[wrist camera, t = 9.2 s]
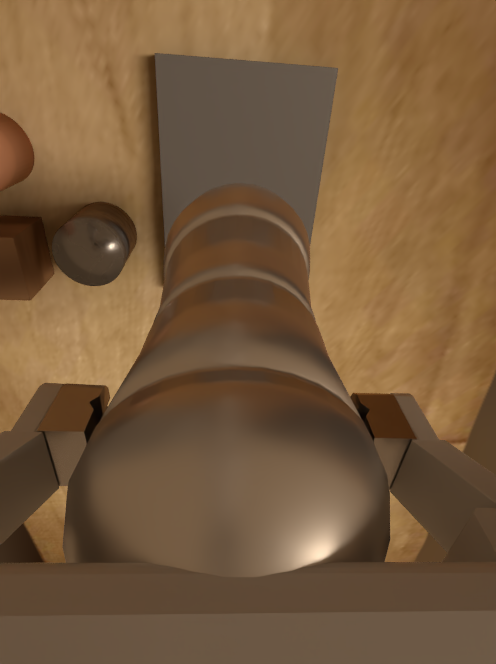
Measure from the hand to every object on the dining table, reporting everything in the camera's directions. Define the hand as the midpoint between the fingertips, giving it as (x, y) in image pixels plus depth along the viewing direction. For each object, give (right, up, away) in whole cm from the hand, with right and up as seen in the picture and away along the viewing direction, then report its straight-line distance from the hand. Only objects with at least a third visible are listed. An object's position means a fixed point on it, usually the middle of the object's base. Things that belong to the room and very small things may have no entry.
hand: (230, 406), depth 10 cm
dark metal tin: (-11, +10, +22) cm, 27 cm away
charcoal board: (0, +13, +21) cm, 25 cm away
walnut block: (-19, +9, +23) cm, 31 cm away
